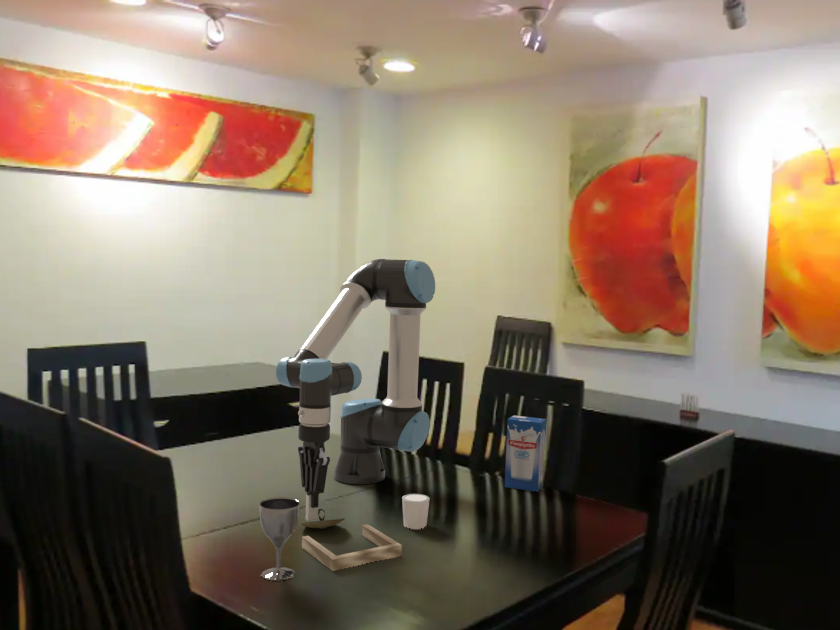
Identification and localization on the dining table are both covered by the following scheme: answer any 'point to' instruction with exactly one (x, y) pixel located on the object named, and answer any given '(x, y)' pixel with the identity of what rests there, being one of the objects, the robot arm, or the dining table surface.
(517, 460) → the milk carton
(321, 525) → the lid
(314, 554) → the wooden u-shaped frame
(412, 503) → the white cup
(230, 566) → the dining table surface
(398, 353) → the robot arm
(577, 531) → the dining table surface
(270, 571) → the wine glass
